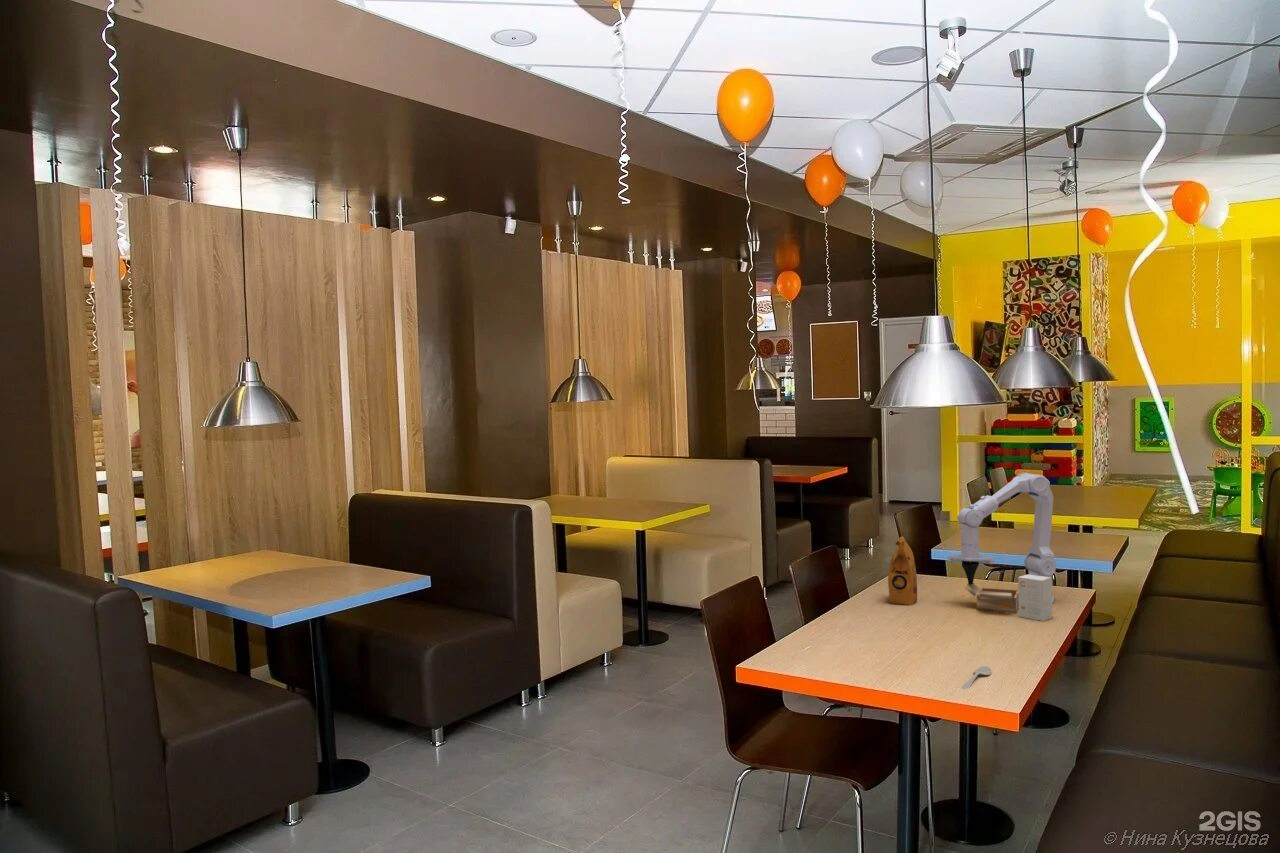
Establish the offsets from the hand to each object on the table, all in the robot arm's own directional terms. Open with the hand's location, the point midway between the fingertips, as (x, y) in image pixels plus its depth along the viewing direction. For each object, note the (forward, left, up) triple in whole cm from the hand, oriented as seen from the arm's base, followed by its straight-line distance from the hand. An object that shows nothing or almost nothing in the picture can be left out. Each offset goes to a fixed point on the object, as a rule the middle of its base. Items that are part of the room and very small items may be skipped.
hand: (970, 583), depth 296 cm
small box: (+9, +21, -8) cm, 24 cm away
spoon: (+80, +11, -8) cm, 82 cm away
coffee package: (+2, -22, -8) cm, 24 cm away
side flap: (0, +1, -1) cm, 1 cm away
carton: (0, +9, -7) cm, 11 cm away
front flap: (+8, +9, -1) cm, 12 cm away
